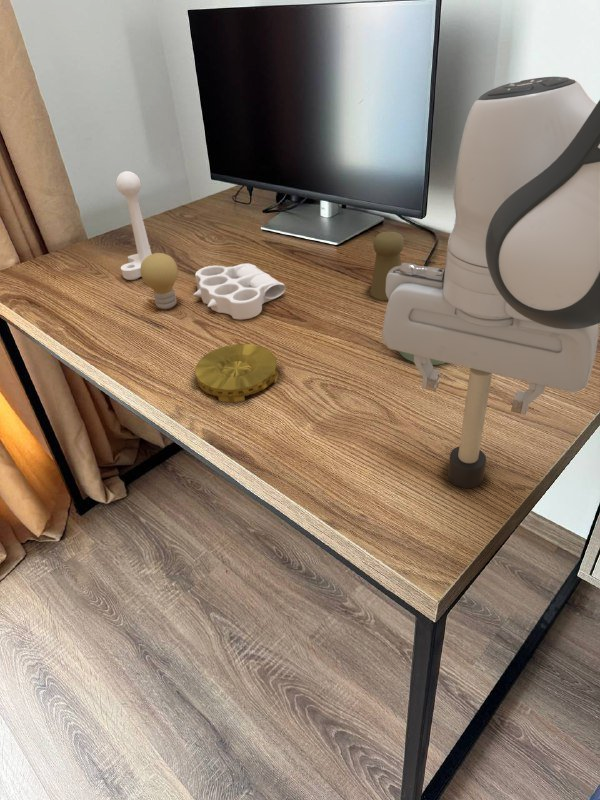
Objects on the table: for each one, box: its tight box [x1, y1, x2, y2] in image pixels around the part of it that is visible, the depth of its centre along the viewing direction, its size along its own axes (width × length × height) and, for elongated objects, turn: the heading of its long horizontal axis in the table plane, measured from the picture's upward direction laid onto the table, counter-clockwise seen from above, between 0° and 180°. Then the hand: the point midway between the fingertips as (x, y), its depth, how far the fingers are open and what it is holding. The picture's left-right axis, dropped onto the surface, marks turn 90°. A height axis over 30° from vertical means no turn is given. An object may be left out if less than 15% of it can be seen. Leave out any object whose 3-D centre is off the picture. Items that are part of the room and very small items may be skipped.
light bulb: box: [140, 252, 179, 310], centre depth 104 cm, size 6×6×10 cm
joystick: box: [115, 170, 153, 281], centre depth 113 cm, size 11×8×20 cm
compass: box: [194, 343, 279, 403], centre depth 87 cm, size 12×12×2 cm
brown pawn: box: [369, 231, 405, 301], centre depth 103 cm, size 6×6×11 cm
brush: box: [447, 368, 493, 489], centre depth 64 cm, size 4×4×15 cm
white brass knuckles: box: [192, 262, 287, 321], centre depth 108 cm, size 3×18×15 cm
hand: (473, 398), depth 62 cm, fingers open, 8 cm apart
